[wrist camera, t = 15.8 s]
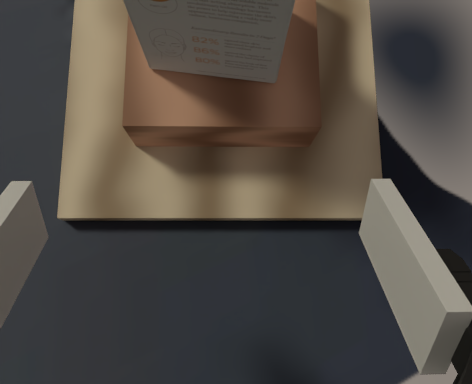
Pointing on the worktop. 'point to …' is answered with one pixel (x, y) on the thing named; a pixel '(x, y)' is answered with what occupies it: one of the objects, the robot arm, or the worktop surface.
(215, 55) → the small box
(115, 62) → the tower base
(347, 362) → the worktop surface
